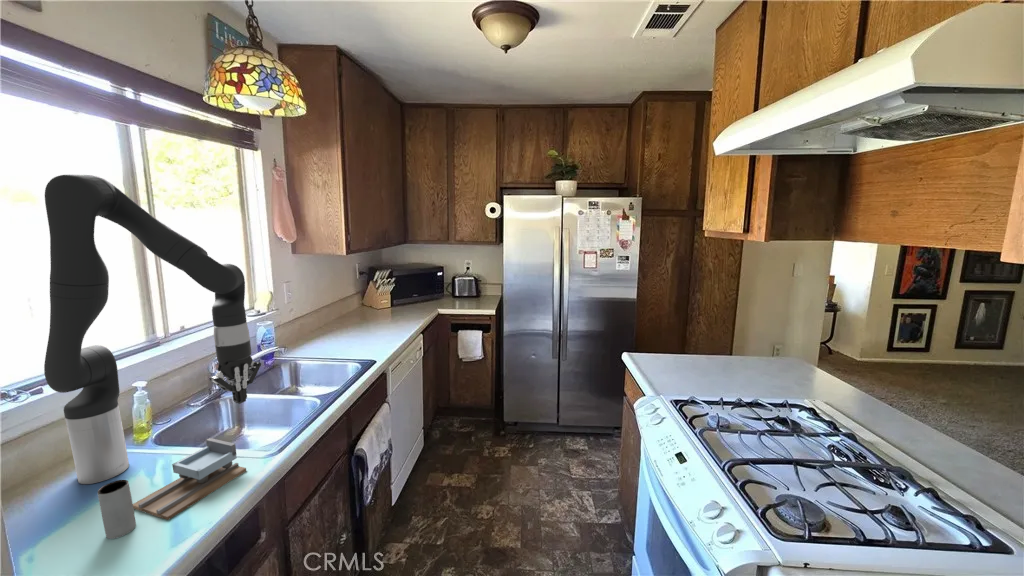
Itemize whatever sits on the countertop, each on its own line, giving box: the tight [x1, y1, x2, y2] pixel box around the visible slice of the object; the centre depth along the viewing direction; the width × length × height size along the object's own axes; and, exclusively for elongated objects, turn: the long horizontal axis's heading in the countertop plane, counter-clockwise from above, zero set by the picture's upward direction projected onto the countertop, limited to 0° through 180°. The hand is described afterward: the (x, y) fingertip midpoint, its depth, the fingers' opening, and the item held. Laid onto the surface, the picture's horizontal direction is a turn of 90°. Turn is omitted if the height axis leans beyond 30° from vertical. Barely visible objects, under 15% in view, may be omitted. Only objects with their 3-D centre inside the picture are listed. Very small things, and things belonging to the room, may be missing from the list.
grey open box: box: [171, 437, 237, 484], centre depth 98 cm, size 9×9×6 cm
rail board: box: [133, 462, 247, 521], centre depth 95 cm, size 12×18×2 cm, turn 162°
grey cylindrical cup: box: [96, 479, 137, 540], centre depth 81 cm, size 4×4×10 cm
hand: (240, 402), depth 106 cm, fingers closed
